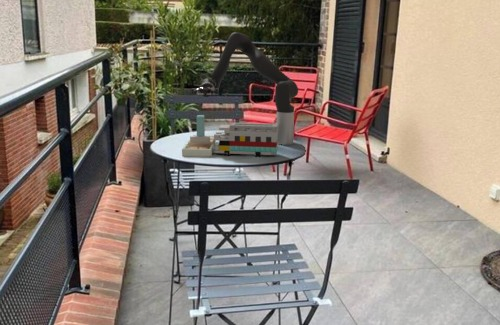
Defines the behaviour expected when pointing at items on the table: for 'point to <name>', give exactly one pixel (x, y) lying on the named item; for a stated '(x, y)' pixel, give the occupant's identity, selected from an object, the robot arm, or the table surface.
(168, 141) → the table surface
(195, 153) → the tray
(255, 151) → the toy vehicle
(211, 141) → the board
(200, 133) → the tall teal pillar block
